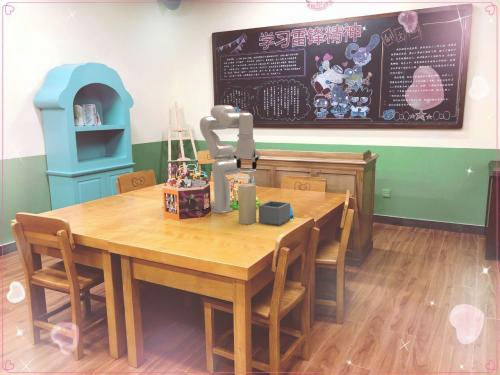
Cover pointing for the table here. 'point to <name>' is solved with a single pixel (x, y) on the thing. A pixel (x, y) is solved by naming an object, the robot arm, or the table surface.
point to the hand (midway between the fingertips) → (246, 168)
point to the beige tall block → (247, 203)
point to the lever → (291, 213)
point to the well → (274, 213)
